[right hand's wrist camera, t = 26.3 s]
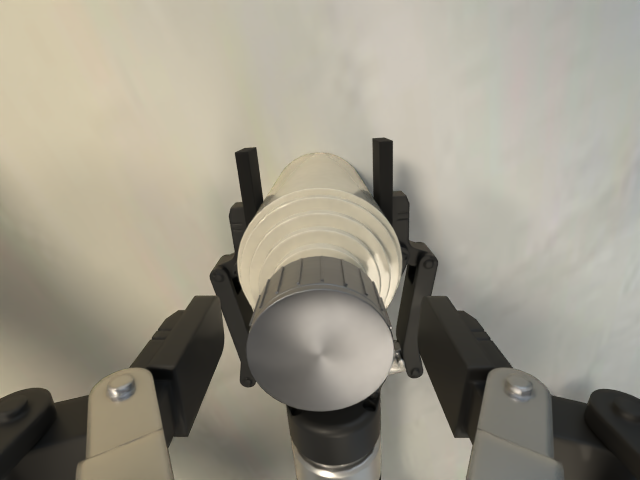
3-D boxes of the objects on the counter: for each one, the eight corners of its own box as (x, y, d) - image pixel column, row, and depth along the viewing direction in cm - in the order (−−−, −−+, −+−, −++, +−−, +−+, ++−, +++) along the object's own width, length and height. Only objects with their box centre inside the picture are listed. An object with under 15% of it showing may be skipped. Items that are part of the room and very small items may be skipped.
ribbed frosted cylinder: (283, 246, 30) (232, 442, 12) (265, 160, 27) (167, 248, 10) (369, 233, 30) (445, 416, 12) (358, 145, 27) (435, 207, 9)
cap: (234, 285, 12) (215, 324, 10) (352, 233, 11) (359, 262, 9) (293, 377, 13) (287, 430, 11) (400, 336, 13) (418, 383, 10)
